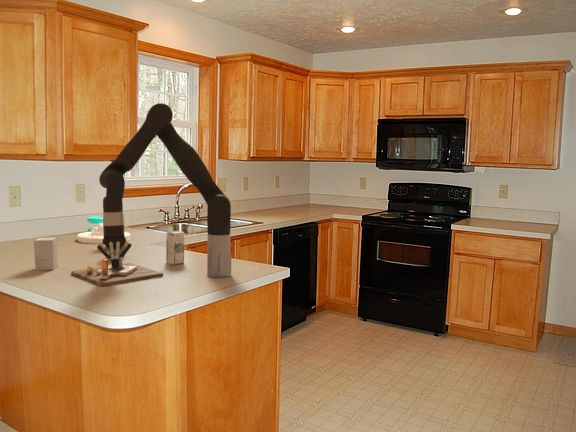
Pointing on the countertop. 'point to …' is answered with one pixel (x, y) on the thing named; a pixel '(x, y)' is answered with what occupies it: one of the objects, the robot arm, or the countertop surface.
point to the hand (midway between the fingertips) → (115, 268)
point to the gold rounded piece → (89, 269)
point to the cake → (96, 235)
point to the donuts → (94, 221)
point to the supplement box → (45, 253)
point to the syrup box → (175, 247)
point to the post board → (136, 275)
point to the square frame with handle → (108, 271)
